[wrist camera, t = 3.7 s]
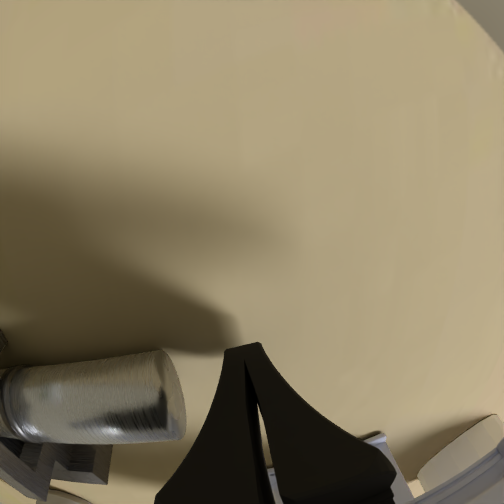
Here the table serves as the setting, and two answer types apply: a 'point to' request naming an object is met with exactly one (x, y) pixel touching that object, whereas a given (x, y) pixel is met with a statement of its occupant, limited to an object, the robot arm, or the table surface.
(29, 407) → the tube
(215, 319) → the table surface
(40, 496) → the collar bracket
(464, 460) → the container
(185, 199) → the table surface
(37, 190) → the table surface
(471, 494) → the robot arm
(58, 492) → the can
